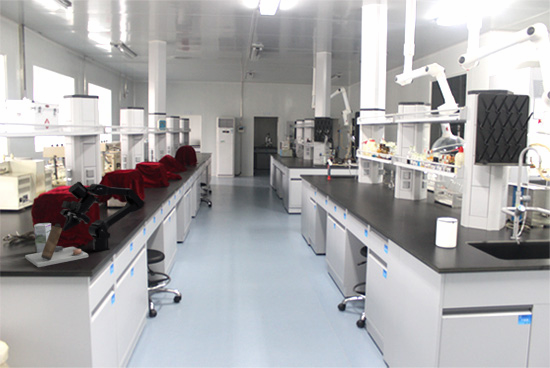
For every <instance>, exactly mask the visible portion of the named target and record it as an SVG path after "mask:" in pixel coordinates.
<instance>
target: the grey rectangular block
mask: <svg viewBox="0 0 550 368" xmlns="http://www.w3.org/2000/svg"><path fill="white" fill-rule="evenodd" d="M63 248H64V246H61V245H60V246H59V245H56V248H55V250H54V251H59V250H63Z"/></svg>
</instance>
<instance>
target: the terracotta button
mask: <svg viewBox="0 0 550 368" xmlns="http://www.w3.org/2000/svg"><path fill="white" fill-rule="evenodd" d="M81 251H82V249H81V248H77V249H74V250H73V254H74V255H77V254H81Z"/></svg>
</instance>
